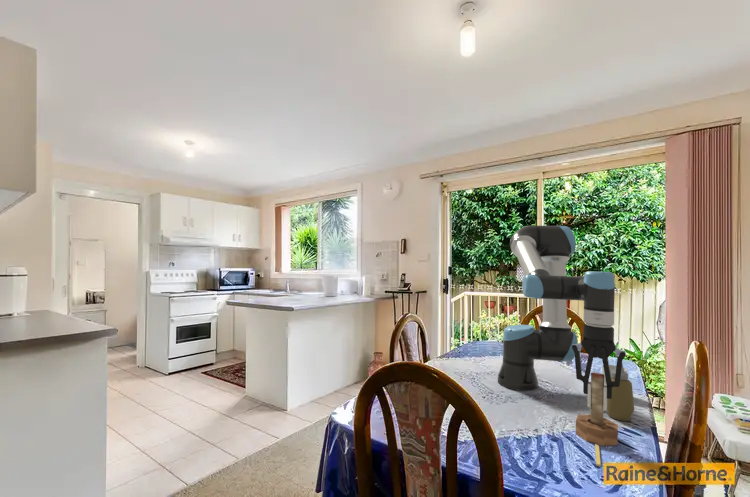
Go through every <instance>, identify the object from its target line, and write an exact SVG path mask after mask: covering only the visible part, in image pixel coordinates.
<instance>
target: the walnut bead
mask: <svg viewBox="0 0 750 497" xmlns="http://www.w3.org/2000/svg"><path fill="white" fill-rule="evenodd" d="M590 416H591V414H578V415H576V418H575V435H577V436H578V437H580V438H581V439H582V440H584V441H586V442H588V443H591V444H594V445H595V444H597V445H599V446H603V447H608V446H609V447H610V446H618V440H619V434H618V433H619V427H618V426H619V425H618V424H617V423H615V422H613V421H611V420H609V419H608V418H606V417H604V426H597V425H593V424H591V423H590Z"/></svg>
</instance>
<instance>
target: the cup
mask: <svg viewBox="0 0 750 497" xmlns="http://www.w3.org/2000/svg"><path fill="white" fill-rule="evenodd" d="M609 368H610V374H611V371H615V369H616V365H614V364H609ZM623 368H624V372H625V373H627V374H628V369H627V368H625V367H623ZM601 374H604V385H607V384H606V378H605V372H604V366H603V364H602V365H601ZM611 377H612V376H611Z"/></svg>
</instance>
